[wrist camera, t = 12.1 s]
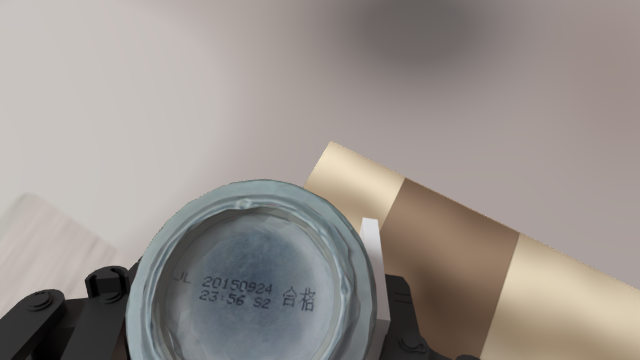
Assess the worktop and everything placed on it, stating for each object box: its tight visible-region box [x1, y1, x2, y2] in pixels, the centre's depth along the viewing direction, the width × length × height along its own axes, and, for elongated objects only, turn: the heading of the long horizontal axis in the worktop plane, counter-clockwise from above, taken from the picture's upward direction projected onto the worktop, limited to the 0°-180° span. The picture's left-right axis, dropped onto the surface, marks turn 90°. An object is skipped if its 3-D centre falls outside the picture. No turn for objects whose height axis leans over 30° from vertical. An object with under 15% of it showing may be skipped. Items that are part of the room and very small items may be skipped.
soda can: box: [125, 179, 378, 360], centre depth 14 cm, size 7×7×12 cm
